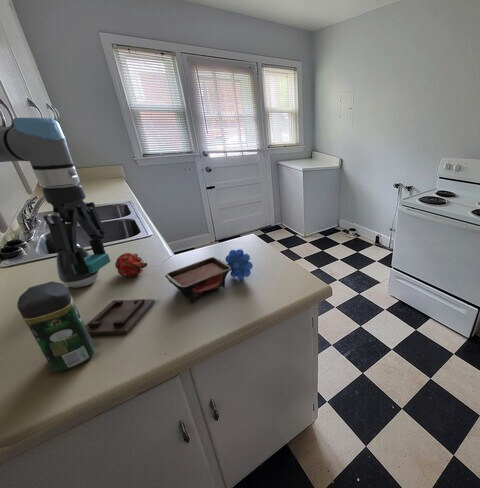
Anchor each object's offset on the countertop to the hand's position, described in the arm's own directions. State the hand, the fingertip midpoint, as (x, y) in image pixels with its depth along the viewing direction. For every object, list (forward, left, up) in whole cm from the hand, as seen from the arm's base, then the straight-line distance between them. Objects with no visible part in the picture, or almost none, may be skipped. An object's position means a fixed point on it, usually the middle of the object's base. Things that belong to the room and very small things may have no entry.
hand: (93, 266), depth 76 cm
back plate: (+7, -6, -13) cm, 17 cm away
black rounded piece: (-17, +14, -13) cm, 25 cm away
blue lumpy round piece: (+37, +14, -13) cm, 42 cm away
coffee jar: (+5, -20, -13) cm, 25 cm away
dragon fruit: (-4, +20, -13) cm, 24 cm away
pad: (0, 0, 0) cm, 0 cm away
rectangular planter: (+25, +8, -13) cm, 30 cm away
